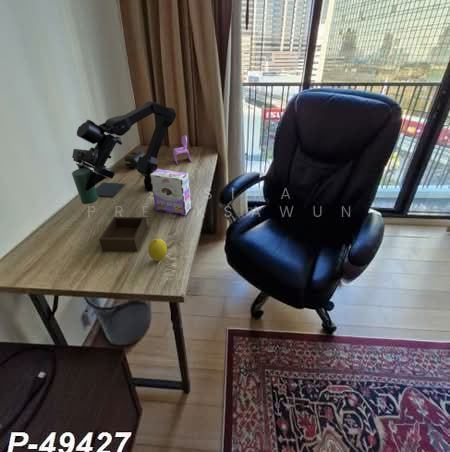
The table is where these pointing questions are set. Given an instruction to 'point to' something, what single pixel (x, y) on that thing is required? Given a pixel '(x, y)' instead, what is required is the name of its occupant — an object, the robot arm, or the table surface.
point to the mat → (108, 189)
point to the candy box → (171, 191)
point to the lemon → (157, 249)
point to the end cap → (133, 159)
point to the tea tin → (81, 181)
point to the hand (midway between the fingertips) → (81, 187)
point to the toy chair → (182, 149)
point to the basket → (124, 234)
